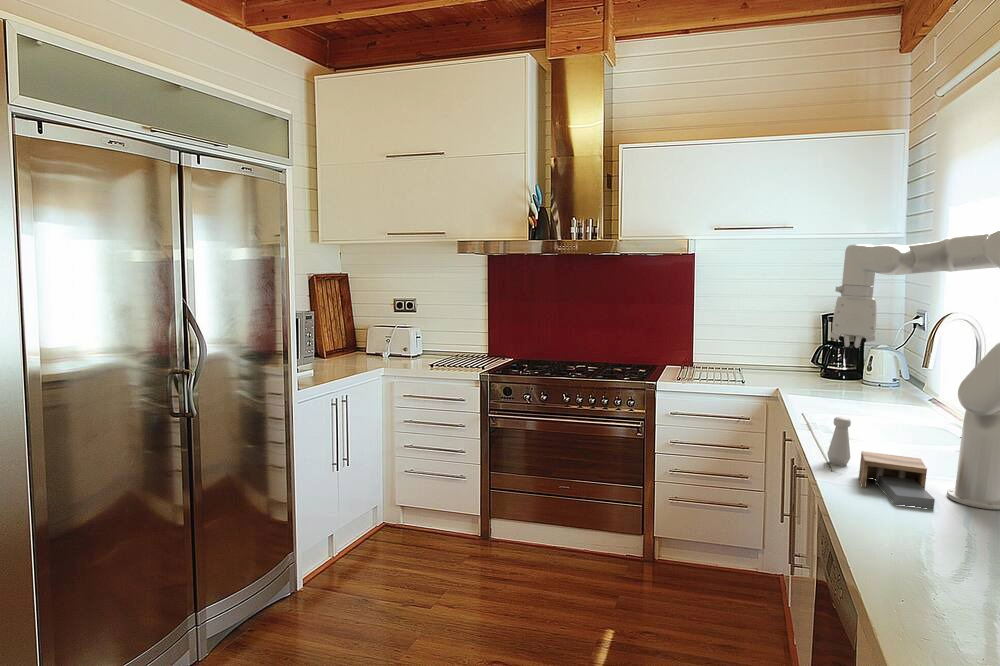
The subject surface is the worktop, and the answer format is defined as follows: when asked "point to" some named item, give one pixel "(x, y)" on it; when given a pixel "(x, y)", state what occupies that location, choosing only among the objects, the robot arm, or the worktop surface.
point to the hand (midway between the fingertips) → (849, 361)
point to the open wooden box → (891, 467)
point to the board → (906, 492)
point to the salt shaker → (840, 442)
